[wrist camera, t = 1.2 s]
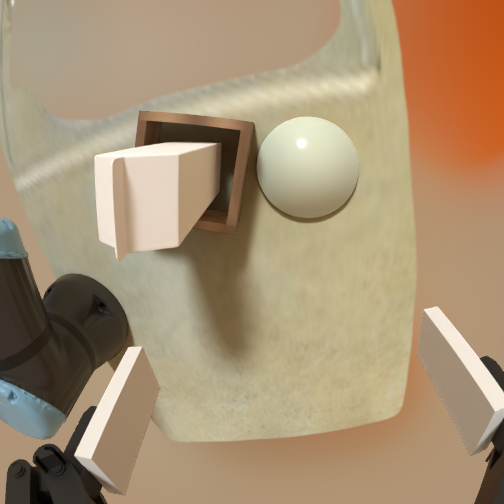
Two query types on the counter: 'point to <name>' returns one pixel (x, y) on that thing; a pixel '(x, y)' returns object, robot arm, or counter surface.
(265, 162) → the cream glossy dome
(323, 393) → the counter surface
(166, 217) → the milk
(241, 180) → the sleeve
